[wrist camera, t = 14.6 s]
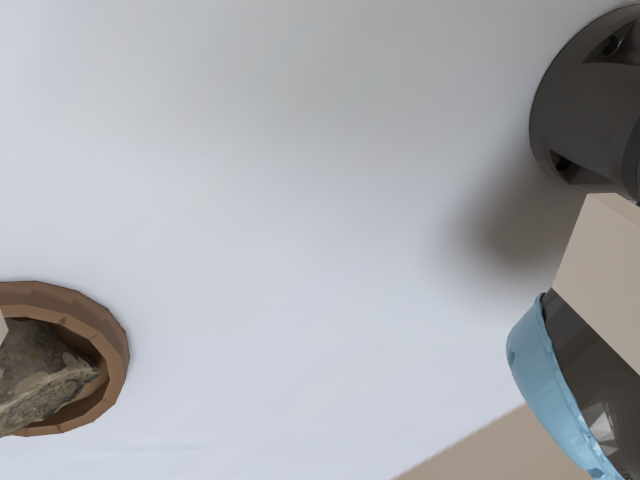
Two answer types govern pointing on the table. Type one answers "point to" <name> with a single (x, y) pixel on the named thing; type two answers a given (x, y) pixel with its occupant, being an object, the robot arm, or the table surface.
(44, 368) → the grey brown rock
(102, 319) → the round tray
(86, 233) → the table surface
